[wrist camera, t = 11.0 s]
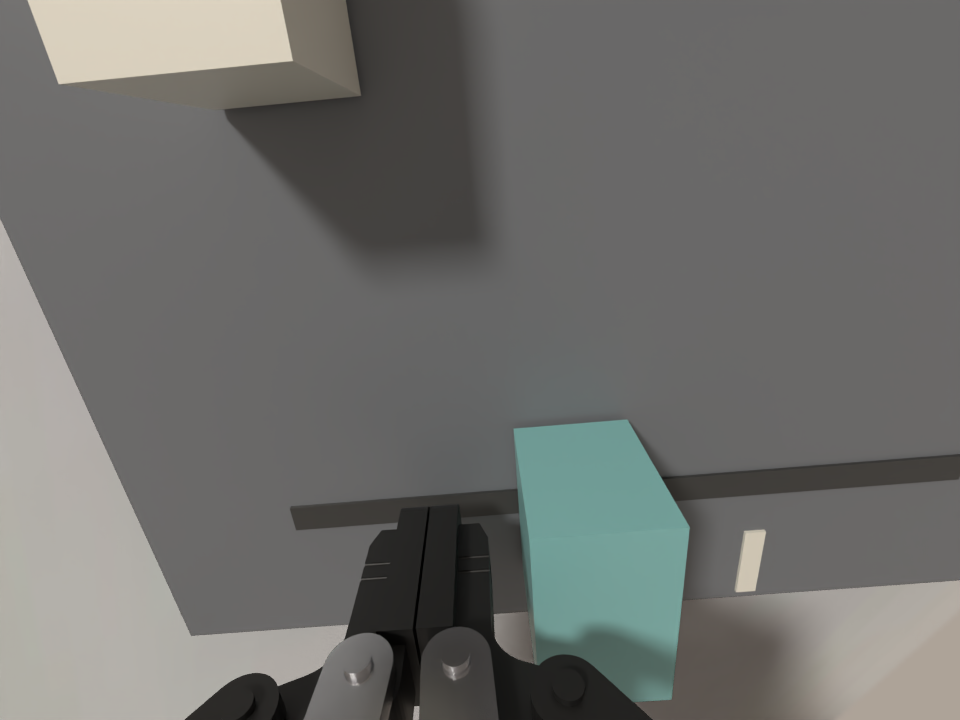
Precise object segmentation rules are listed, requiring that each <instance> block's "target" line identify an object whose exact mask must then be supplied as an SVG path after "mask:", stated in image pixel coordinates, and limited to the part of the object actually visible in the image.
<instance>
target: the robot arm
mask: <svg viewBox="0 0 960 720" xmlns="http://www.w3.org/2000/svg"><path fill="white" fill-rule="evenodd" d="M414 706H420V711H419V720H652V719H651V718H650V717H649V716H648V715H647V714H646V713H645V712H644V711H642V710H641V709H640V708H639V707H638V706H637V705H636V704H635V703H634V702H633V701H631V700H630V699H629V698H628V697H627V696H626V695H625V694H624V693H623V692H622V691H620V690H619V689H618V688H617V687H616V686H615V685H614V684H613V683H612V682H611V681H609V680H608V679H607V678H606V677H605V676H604V675H603V674H602V673H601V672H600V671H598V670H597V669H596V668H595V667H594V666H593V665H592V664H590V663H589V662H588V661H586V660H584V659H582V658H580V657H577V656H574V655H568V654H561V655H555V656H552V657H550V658H548V659H546V660H544V661H543V662H542V663H541V664H540V665H535V664H532V663H528V662H524V661H521V660H518V659H516V658H514V657H512V656H510V655H509V654H507V653H506V652H505V651H504V650H503V649H502V648H501V647H500V646H499V645H498V643H497V642H496V640H495V632H494V609H493V587H492V573H491V563H490V552H489V542H488V536H487V535H486V533H485V531H484V530H483V528H482V527H481V525H480V523H474V524H462V522H461V514H460V507H459V504H451V505H437V506H431V508H430V506H425V507H411V508H402V509H401V511H400V515H399V520H398V525H397V529H392V530H381V532H380V533H379V534H378V536H377V537H376V538H375V539H374V541H373V542H372V543H371V545H370V546H369V550H368V554H367V557H366V561H365V567H364V569H363V573H362V576H361V581H360V584H359V588H358V591H357V595H356V599H355V603H354V606H353V610H352V614H351V618H350V622H349V625H348V629H347V633H346V636H345V639H344V641H342V642H341V643H340V644H338V645H337V646H336V647H335V648H334V649H333V650H332V652H331V653H330V654H329V656H328V657H327V659H326V661H325V663H324V666H323V667H321V668H320V669H318V670H317V671H315V672H313V673H311V674H309V675H306V676H304V677H301V678H299V679H296V680H293V681H291V682H288V683H286V684H283V685H280V686H277V684H276V682H275V681H274V679H273V678H271V677H270V676H268V675H266V674H261V673H252V674H247V675H244V676H241V677H239V678H237V679H234V680H233V681H231V682H229V683H228V684H226V685H225V686H224V687H223V688H221V689H220V690H219V691H218V692H217V693H215V694H214V695H213V696H212V697H211V698H209V699H208V700H207V701H206V702H205V703H204V704H202V705H201V706H200V707H199V708H198V709H197V710H195V711H194V712H193V713H192V714H191V715H190V716H188V717H187V718H186V719H185V720H413V712H414Z"/></svg>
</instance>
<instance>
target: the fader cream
mask: <svg viewBox="0 0 960 720" xmlns="http://www.w3.org/2000/svg"><path fill="white" fill-rule="evenodd" d="M28 3H29V6H30V8H31V11H32V14H33V16H34V19H35V22H36V25H37V27H38V30H39V33H40V35H41V38H42V41H43V43H44V46H45V49H46V51H47V54H48V57H49V59H50V62H51V65H52V67H53V70H54V73H55V75H56V78H57V81H58V84H61V85H67V86H73V87H79V88H85V89H91V90H97V91H103V92H108V93H114V94H120V95H126V96H132V97H138V98H144V99H150V100H156V101H162V102H168V103H174V104H180V105H186V106H192V107H198V108H204V109H210V110H222V109H232V108H243V107H253V106H263V105H273V104H284V103H294V102H304V101H315V100H325V99H335V98H345V97H356V96H361V92H360V86H359V80H358V73H357V67H356V61H355V55H354V48H353V42H352V36H351V30H350V24H349V17H348V11H347V5H346V0H28Z"/></svg>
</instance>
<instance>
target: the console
mask: <svg viewBox="0 0 960 720" xmlns="http://www.w3.org/2000/svg"><path fill="white" fill-rule="evenodd" d="M346 5H347V11H348V17H349V24H350V30H351V36H352V42H353V48H354V55H355V61H356V67H357V73H358V80H359V86H360V92H361V96H356V97H345V98H335V99H325V100H315V101H304V102H294V103H284V104H273V105H263V106H253V107H243V108H232V109H222V110H210V109H204V108H198V107H192V106H186V105H180V104H174V103H168V102H162V101H156V100H150V99H144V98H138V97H132V96H126V95H120V94H114V93H108V92H103V91H97V90H91V89H85V88H79V87H73V86H67V85H61V84H58V81H57V78H56V75H55V73H54V70H53V67H52V65H51V62H50V59H49V57H48V54H47V51H46V49H45V46H44V43H43V41H42V38H41V35H40V33H39V30H38V27H37V25H36V22H35V19H34V16H33V14H32V11H31V8H30V6H29V3H28V0H0V219H1V221H2V223H3V225H4V228H5V230H6V232H7V234H8V236H9V238H10V241H11V243H12V245H13V247H14V249H15V252H16V254H17V256H18V258H19V260H20V262H21V265H22V267H23V269H24V271H25V273H26V276H27V278H28V280H29V282H30V284H31V287H32V289H33V291H34V293H35V295H36V297H37V300H38V302H39V304H40V306H41V308H42V311H43V313H44V315H45V317H46V319H47V321H48V324H49V326H50V328H51V330H52V332H53V335H54V337H55V339H56V341H57V343H58V346H59V348H60V350H61V352H62V354H63V356H64V359H65V361H66V363H67V365H68V367H69V370H70V372H71V374H72V376H73V378H74V381H75V383H76V385H77V387H78V389H79V391H80V394H81V396H82V398H83V400H84V402H85V405H86V407H87V409H88V411H89V413H90V415H91V418H92V420H93V422H94V424H95V426H96V429H97V431H98V433H99V435H100V437H101V440H102V442H103V444H104V446H105V448H106V450H107V453H108V455H109V457H110V459H111V461H112V464H113V466H114V468H115V470H116V472H117V474H118V477H119V479H120V481H121V483H122V485H123V488H124V490H125V492H126V494H127V496H128V499H129V501H130V503H131V505H132V507H133V509H134V512H135V514H136V516H137V518H138V520H139V523H140V525H141V527H142V529H143V531H144V533H145V536H146V538H147V540H148V542H149V544H150V547H151V549H152V551H153V553H154V555H155V558H156V560H157V562H158V564H159V566H160V568H161V571H162V573H163V575H164V577H165V579H166V582H167V584H168V586H169V588H170V590H171V593H172V595H173V597H174V599H175V601H176V603H177V606H178V608H179V610H180V612H181V614H182V617H183V619H184V621H185V623H186V625H187V627H188V630H189V632H190V634H191V636H195V635H209V634H222V633H236V632H250V631H264V630H278V629H292V628H305V627H319V626H333V625H347V624H349V622H350V618H351V614H352V610H353V606H354V603H355V599H356V595H357V591H358V588H359V584H360V581H361V576H362V573H363V569H364V567H365V561H366V557H367V554H368V550H369V546H370V545H371V543H372V542H373V541H374V539H375V538H376V537H377V536H378V534H379V533H380V532H381V530H392V529H397V525H398V520H399V515H400V511H401V509H402V508H411V507H425V506H430V508H431V506H437V505H451V504H459V507H460V514H461V522H462V524H474V523H480V525H481V527H482V528H483V530H484V531H485V533H486V535H487V536H488V542H489V552H490V563H491V573H492V587H493V609H494V614H499V613H513V612H527V611H528V607H527V598H526V590H525V582H524V573H523V561H522V546H521V532H520V517H519V503H518V488H517V474H516V459H515V444H514V430H513V429H515V428H528V427H540V426H553V425H565V424H577V423H590V422H602V421H614V420H628V421H629V423H630V425H631V426H632V428H633V430H634V432H635V433H636V435H637V437H638V439H639V440H640V442H641V444H642V445H643V447H644V449H645V451H646V452H647V454H648V456H649V458H650V459H651V461H652V463H653V465H654V466H655V468H656V470H657V471H658V473H659V475H660V477H661V478H662V480H663V482H664V484H665V485H666V487H667V489H668V490H669V492H670V494H671V496H672V497H673V499H674V501H675V503H676V504H677V506H678V508H679V509H680V511H681V513H682V515H683V516H684V518H685V520H686V522H687V523H688V525H689V527H690V530H689V540H688V549H687V559H686V568H685V578H684V587H683V597H682V600H693V599H707V598H721V597H735V596H749V595H762V594H776V593H790V592H804V591H818V590H832V589H845V588H859V587H873V586H887V585H901V584H915V583H928V582H942V581H956V580H960V0H346Z"/></svg>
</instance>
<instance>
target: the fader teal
mask: <svg viewBox="0 0 960 720" xmlns="http://www.w3.org/2000/svg"><path fill="white" fill-rule="evenodd" d="M513 430H514V444H515V459H516V474H517V488H518V503H519V517H520V532H521V546H522V561H523V573H524V582H525V590H526V598H527V607H528V615H529V624H530V632H531V641H532V649H533V657H534V664H535V665H540V664H541V663H542V662H543V661H544V660H546V659H548V658H550V657H552V656H555V655H561V654H568V655H574V656H577V657H580V658H582V659H584V660H586V661H588V662H589V663H590V664H592V665H593V666H594V667H595V668H596V669H597V670H598V671H600V672H601V673H602V674H603V675H604V676H605V677H606V678H607V679H608V680H609V681H611V682H612V683H613V684H614V685H615V686H616V687H617V688H618V689H619V690H620V691H622V692H623V693H624V694H625V695H626V696H627V697H628V698H629V699H630V700H631V701H633V702H644V701H659V700H672V692H673V682H674V673H675V663H676V654H677V644H678V635H679V625H680V616H681V606H682V597H683V587H684V578H685V568H686V559H687V549H688V540H689V530H690V527H689V525H688V523H687V522H686V520H685V518H684V516H683V515H682V513H681V511H680V509H679V508H678V506H677V504H676V503H675V501H674V499H673V497H672V496H671V494H670V492H669V490H668V489H667V487H666V485H665V484H664V482H663V480H662V478H661V477H660V475H659V473H658V471H657V470H656V468H655V466H654V465H653V463H652V461H651V459H650V458H649V456H648V454H647V452H646V451H645V449H644V447H643V445H642V444H641V442H640V440H639V439H638V437H637V435H636V433H635V432H634V430H633V428H632V426H631V425H630V423H629V421H628V420H614V421H602V422H590V423H577V424H565V425H553V426H540V427H528V428H515V429H513Z"/></svg>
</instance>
